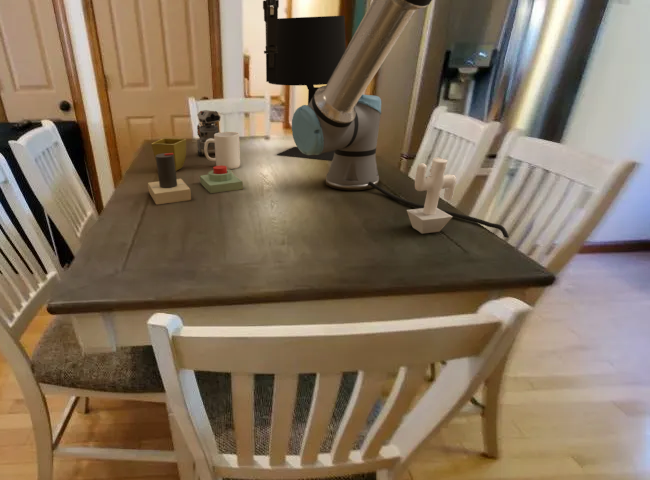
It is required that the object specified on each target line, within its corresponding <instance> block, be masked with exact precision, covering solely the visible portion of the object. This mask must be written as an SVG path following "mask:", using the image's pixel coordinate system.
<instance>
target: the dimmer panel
mask: <svg viewBox="0 0 650 480" xmlns="http://www.w3.org/2000/svg"><path fill="white" fill-rule="evenodd" d="M176 179H177V186H175V187H172V188H162V187H160V185H159V180H158V181H151V182H147V187H148V193H149V195H150V197H151V198H152V200H153V202H154V203H155V205H157V206H158V205H164V204H172V203H179V202H180V203H181V202H188V201H192V194H191V193H192V192H191V188H190V187H189V186H188V185H187V183H186V182H185V181H184V180H183V179H182V178H176Z"/></svg>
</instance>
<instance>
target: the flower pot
mask: <svg viewBox="0 0 650 480" xmlns="http://www.w3.org/2000/svg"><path fill="white" fill-rule="evenodd" d="M150 145H151V149H152V153H153V155H154V160H156V157H155V156H156V155H158V154H163V153H173V154H174V162H175V170H176V172H177V171H179V170H180V169H182V168H183V167H184V165H185V161H186V157H187V138H171V137H170V138H168V137H166V138H161V139H158V140H155V141H154V142H151V143H150Z"/></svg>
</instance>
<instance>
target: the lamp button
mask: <svg viewBox="0 0 650 480" xmlns="http://www.w3.org/2000/svg"><path fill="white" fill-rule="evenodd" d="M212 169H213V172H214V174H225V173H227V170H228V169H227V167H226V166H216V165H215V166H213V167H212Z"/></svg>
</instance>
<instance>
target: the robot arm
mask: <svg viewBox="0 0 650 480" xmlns="http://www.w3.org/2000/svg"><path fill="white" fill-rule="evenodd" d="M432 1H433V0H372V1H371V3H370V5H369V7H368V8H367V10H366V12H365V14H364V15H363V16H362V17H363V18H362V19H361V21H360V23H359V24H358V26H357V28H356V30H355V32H354V34H353V36H352V38H351V39H350V41H349V43H348V45H347V46H346V50H345V52H344V54H343V56H342V58H341V59H340V61H339V63H338V65H337V67H336V69H335V70H334V72H333V74H332V76H331V78H330V80H329V81H328V83H327V84H325V85H321V86H319V87H320V88H318V89H317V90H316V92H315V94H314V96H313V98H312V99H311V101H310V103H309V104H308V103H307V104H303V105H301V106H299V107H297V109H295V111H294V112H293V115H292V118H291V132H292V133H291V134H292V139H293V141H294V144H295V147H298V149H299V150H300V151H301V152H302V153H304V154H306V155H319V154H321V153H325V152H330V151H334V157H333V160H332V161H331V162H330V166H329V169H328V171H327V173H326V176H325V177H326V178H325V185H326V186H328V187H329V188H332V189H335V190H340V191H349V192H350V191H351V192H353V191H355V192H356V191H367V190H370V189H375V190H376V191H379V192H380V193H382V194H383V195H385V196H387V197H389V198H391V199H392V200H395V201H397V202H400V203H402V204H405V205H408V206H410V207H414V208H416V209H420V208H424V204H420V203H416V202H414V201H410V200H407V199H405V198H403V197H399V196H398V195H395V194H393V193H391V192H389V191H387V190H386V189H384V188H383V187H381V186H380V185H379V181H380V175H379V171H378V163H377V158H376V157H377V156H376V151H377V146H378V140H379V139H378V138H379V132H380V131H379V130H380V122H381V116H382V99H381V97H380V96H378V95H371V94H364V93H365V92H366V90H367V88H368V87H369V85H370V84H371V82H372V80H373V79H374V77H375V76H376V74H377V73H378V71H379V69H380V68H381V66H382V65H383V64H384V61H385V60H386V59H387V57H388V56H389V54H390V52H391V51H392V49H393V47H394V46H395V45H396V43H397V41H398V40H399V38H400V36H402V33H403V32H404V31H405V29H406V27H407V25H408V24H409V22H410V21H411V20H412V18H413V16H414V15H415V13H416V12H417V11H418V10H420V9H424V8H426V7H428V6H429V5H431V3H432ZM279 4H280V1H279V0H262V10H263V21H264V23H265V24H264V25H265V50H263V54H264V55H265V67H266V68H265V74H266V75H265V78H266V79H265V80H266V81H265V82H266V83H268V82H275V81H276V53H278V50H277V46H276V31H277V20H278V19H279ZM441 210H442V211H444V212H445V213H447V214H449V215H451V216H453V217H452V218H458V219H461V220H465V221H469V222H473V223H476V224H480V225H483V226H486V227H488V228H491V229H492V228H493V229H496V230H499V231H500V232H501V234H502V235H503V237H504V238H506V239H509V238H510V236H509V232H508V231H507V229H506V228H505V227H504V226H503V225H501V224H500V223H493V222H489V221H487V220H484V219H481V218H477V217H474V216H469V215H466V214H461V213H457V212H454V211H449V210H444V209H441Z"/></svg>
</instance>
